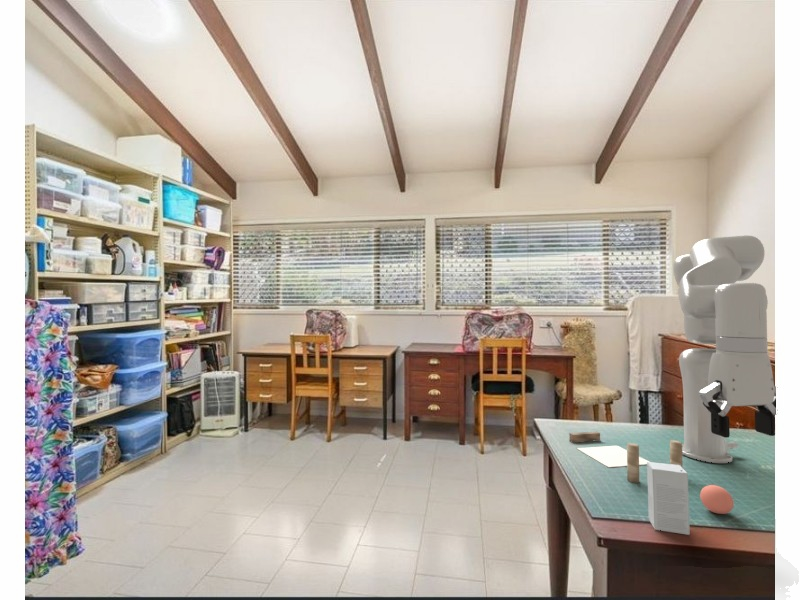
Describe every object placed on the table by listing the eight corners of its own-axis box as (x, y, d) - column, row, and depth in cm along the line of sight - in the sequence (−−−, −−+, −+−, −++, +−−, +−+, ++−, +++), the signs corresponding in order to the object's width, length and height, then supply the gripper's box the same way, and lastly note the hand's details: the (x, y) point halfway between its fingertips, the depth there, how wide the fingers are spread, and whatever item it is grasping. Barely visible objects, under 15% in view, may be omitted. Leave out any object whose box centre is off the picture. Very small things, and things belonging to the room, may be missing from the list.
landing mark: (617, 446, 120) (617, 445, 120) (653, 464, 106) (653, 463, 106) (576, 448, 117) (576, 448, 117) (608, 467, 104) (608, 467, 104)
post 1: (633, 478, 97) (633, 442, 98) (641, 482, 95) (641, 446, 95) (624, 478, 97) (624, 443, 97) (632, 483, 94) (632, 447, 95)
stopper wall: (596, 439, 126) (596, 431, 126) (600, 440, 125) (600, 433, 125) (569, 440, 124) (569, 433, 125) (572, 442, 123) (572, 434, 123)
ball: (715, 504, 84) (714, 479, 84) (741, 518, 79) (740, 491, 79) (693, 506, 83) (693, 481, 83) (718, 520, 78) (718, 493, 78)
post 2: (676, 474, 99) (675, 440, 100) (685, 478, 97) (684, 443, 97) (667, 475, 99) (667, 440, 99) (676, 479, 96) (675, 444, 97)
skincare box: (681, 524, 77) (680, 464, 77) (690, 536, 73) (689, 473, 73) (647, 518, 79) (646, 460, 79) (653, 530, 75) (652, 469, 75)
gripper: (759, 344, 79) (761, 427, 78) (684, 344, 77) (685, 429, 76) (801, 347, 71) (804, 439, 71) (719, 348, 69) (721, 442, 69)
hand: (742, 434), depth 73 cm, fingers open, 9 cm apart
